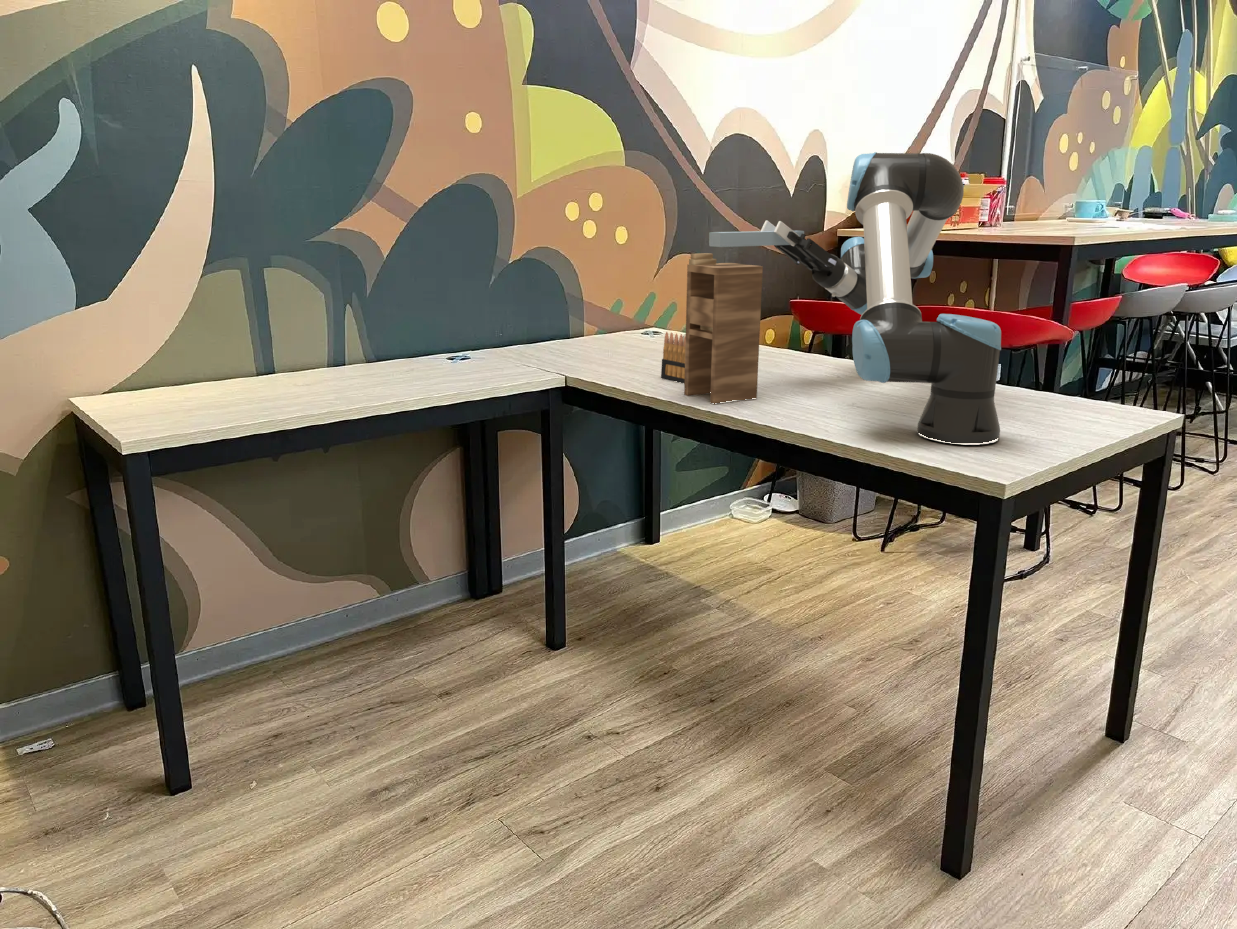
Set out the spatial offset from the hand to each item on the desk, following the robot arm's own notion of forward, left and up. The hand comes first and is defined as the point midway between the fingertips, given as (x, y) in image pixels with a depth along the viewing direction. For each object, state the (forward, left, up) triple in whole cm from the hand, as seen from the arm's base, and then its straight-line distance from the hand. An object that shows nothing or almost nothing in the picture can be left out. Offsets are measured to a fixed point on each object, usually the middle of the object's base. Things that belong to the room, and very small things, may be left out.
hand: (770, 226), depth 212 cm
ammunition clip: (+23, -1, -39) cm, 45 cm away
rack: (+6, +11, -38) cm, 40 cm away
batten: (+2, +3, -4) cm, 6 cm away
